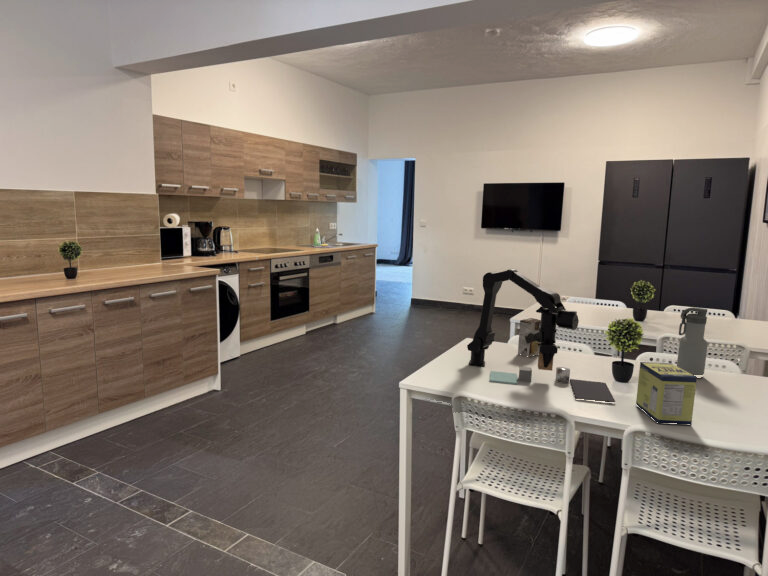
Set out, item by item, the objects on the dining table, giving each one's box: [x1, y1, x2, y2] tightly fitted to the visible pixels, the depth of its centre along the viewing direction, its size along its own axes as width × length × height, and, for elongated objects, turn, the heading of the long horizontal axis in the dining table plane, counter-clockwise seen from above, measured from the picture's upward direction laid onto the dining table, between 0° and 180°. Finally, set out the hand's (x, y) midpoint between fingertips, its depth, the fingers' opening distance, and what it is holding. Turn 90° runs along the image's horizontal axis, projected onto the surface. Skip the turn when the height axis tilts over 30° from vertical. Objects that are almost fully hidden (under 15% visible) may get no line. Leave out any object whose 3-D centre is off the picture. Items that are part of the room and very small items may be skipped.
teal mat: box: [489, 370, 518, 385], centre depth 195 cm, size 12×10×1 cm
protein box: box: [635, 361, 698, 425], centre depth 161 cm, size 10×16×16 cm
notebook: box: [569, 378, 616, 403], centre depth 182 cm, size 13×2×21 cm
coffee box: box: [517, 317, 541, 358], centre depth 229 cm, size 9×6×16 cm
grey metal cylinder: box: [554, 366, 571, 384], centre depth 193 cm, size 5×5×5 cm
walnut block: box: [537, 352, 554, 371], centre depth 192 cm, size 5×5×6 cm
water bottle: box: [676, 306, 709, 375], centre depth 204 cm, size 10×10×28 cm
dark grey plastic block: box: [518, 366, 533, 383], centre depth 193 cm, size 4×4×4 cm
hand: (545, 365), depth 192 cm, fingers closed on walnut block, 5 cm apart
